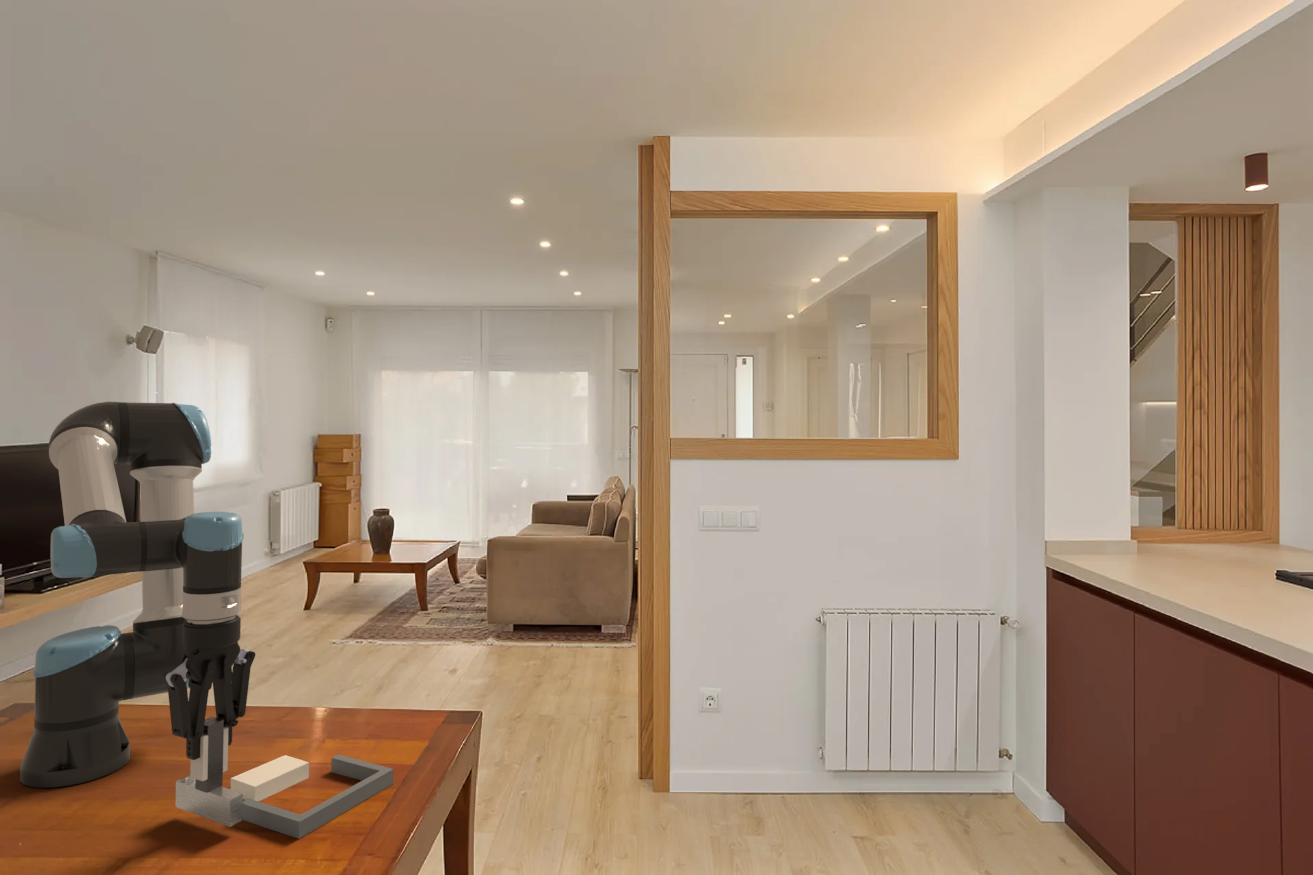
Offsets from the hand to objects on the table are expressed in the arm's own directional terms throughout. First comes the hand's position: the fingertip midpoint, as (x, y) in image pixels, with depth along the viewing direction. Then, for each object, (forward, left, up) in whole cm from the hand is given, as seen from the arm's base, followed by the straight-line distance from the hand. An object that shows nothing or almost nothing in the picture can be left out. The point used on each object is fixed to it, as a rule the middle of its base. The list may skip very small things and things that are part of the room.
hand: (209, 773), depth 113 cm
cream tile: (-3, +13, -8) cm, 16 cm away
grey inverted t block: (0, 0, -6) cm, 6 cm away
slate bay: (+8, +13, -8) cm, 17 cm away
